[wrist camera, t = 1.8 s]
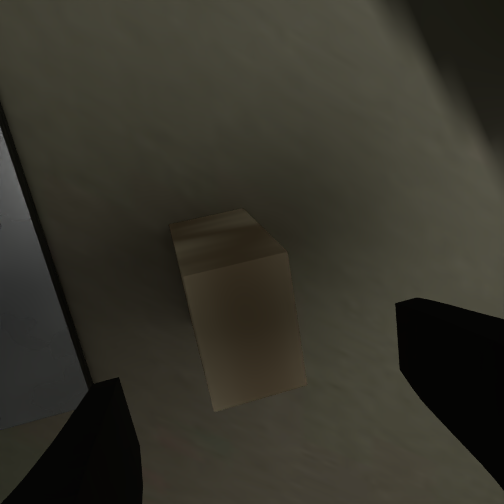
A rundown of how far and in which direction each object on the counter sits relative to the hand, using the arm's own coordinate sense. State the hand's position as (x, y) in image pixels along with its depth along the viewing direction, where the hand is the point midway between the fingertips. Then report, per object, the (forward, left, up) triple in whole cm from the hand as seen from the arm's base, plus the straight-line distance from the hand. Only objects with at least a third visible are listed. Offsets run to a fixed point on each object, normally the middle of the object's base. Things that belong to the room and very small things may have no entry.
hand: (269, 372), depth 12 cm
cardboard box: (0, 0, -8) cm, 8 cm away
